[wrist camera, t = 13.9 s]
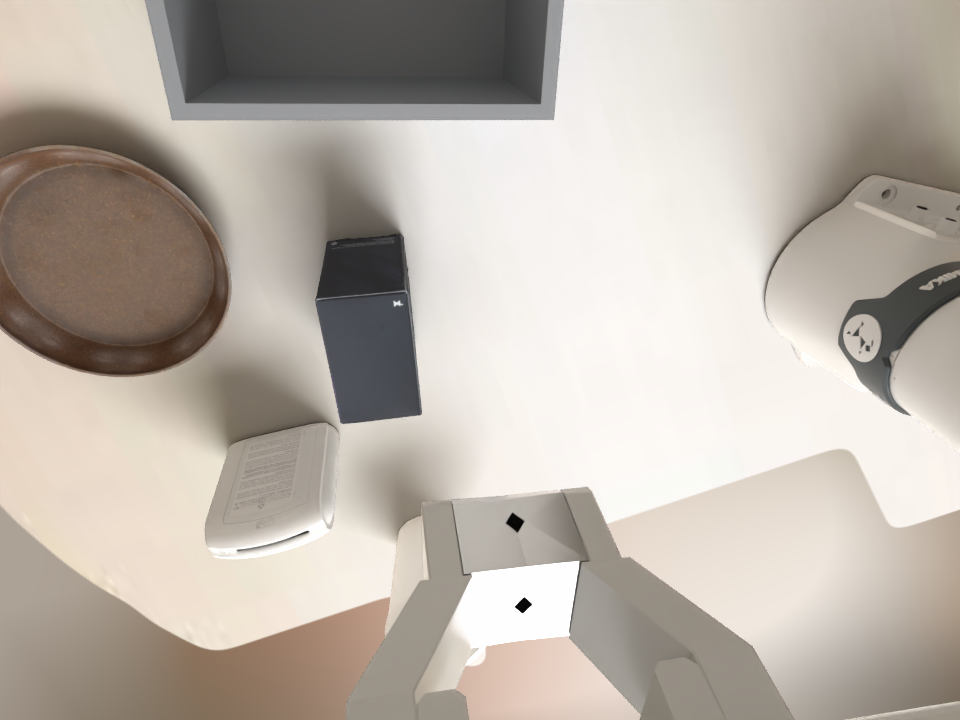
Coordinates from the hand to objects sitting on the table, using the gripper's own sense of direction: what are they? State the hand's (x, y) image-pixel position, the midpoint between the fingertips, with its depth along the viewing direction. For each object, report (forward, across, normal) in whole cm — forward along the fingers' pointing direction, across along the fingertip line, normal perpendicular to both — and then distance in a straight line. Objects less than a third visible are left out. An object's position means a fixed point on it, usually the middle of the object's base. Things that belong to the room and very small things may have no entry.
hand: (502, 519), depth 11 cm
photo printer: (+39, +12, +29) cm, 50 cm away
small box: (+39, +3, +14) cm, 42 cm away
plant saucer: (+40, +22, +10) cm, 46 cm away
